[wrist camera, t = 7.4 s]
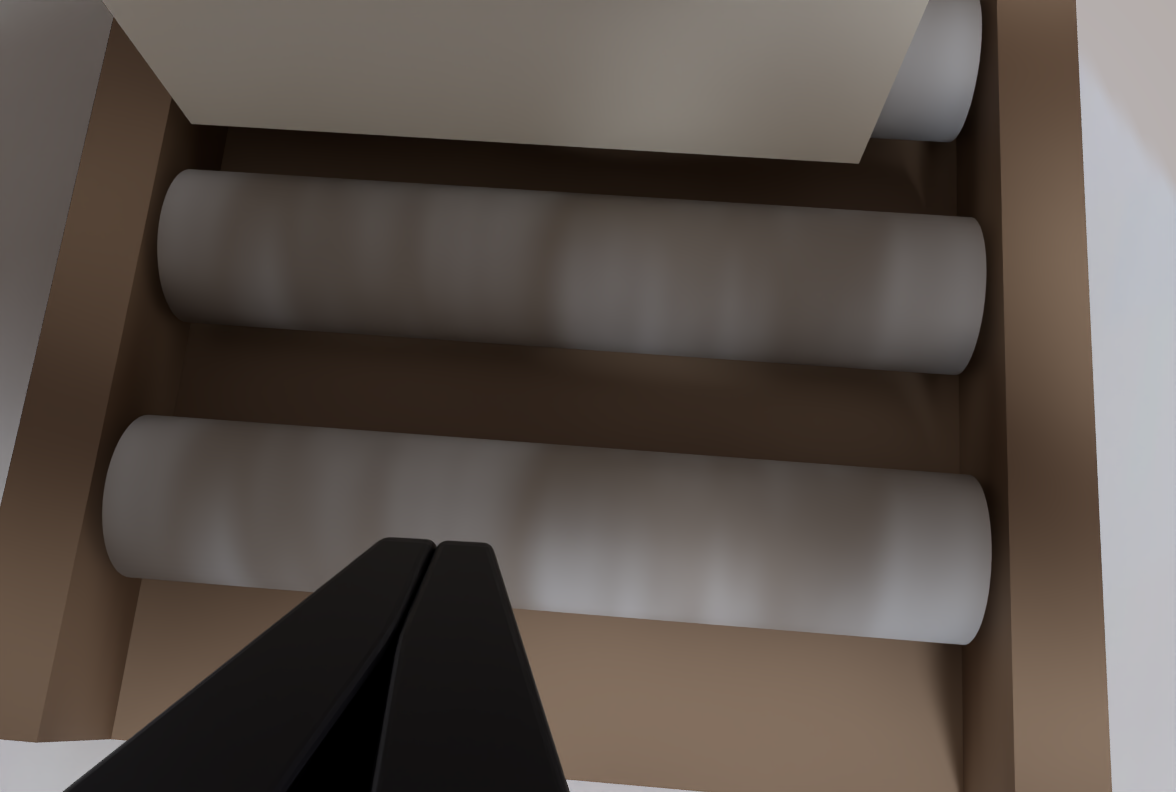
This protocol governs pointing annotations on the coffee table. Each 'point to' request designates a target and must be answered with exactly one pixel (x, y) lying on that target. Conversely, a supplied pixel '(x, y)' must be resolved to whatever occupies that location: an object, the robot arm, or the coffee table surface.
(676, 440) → the roller bed
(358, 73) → the limestone slab
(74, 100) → the coffee table surface
